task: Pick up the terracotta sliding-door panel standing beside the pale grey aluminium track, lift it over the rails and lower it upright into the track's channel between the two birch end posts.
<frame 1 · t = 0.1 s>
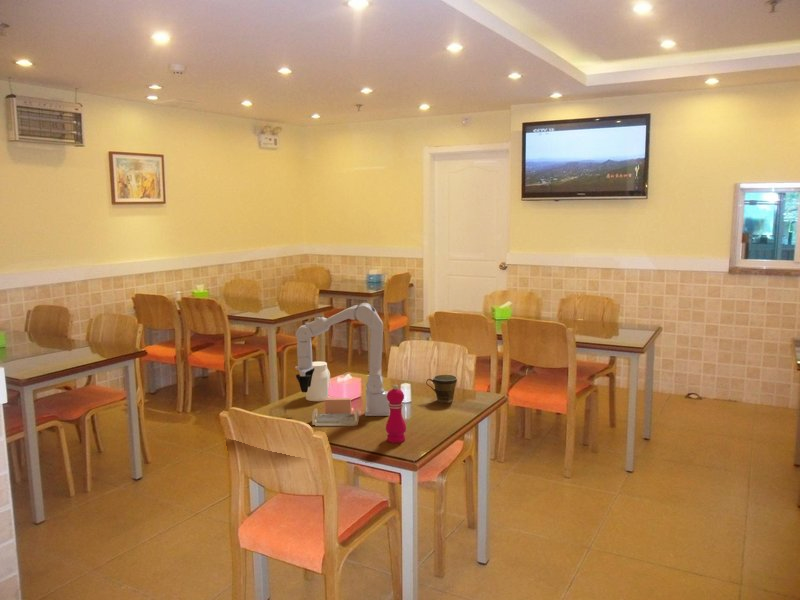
hand: (306, 389, 258), 10 cm above the table, tool pointing down, fingers open, 7 cm apart
ceramic cup: (441, 401, 275), on the table
door panel: (338, 416, 257), on the table
jar: (318, 397, 282), on the table
pepper mill: (396, 440, 230), on the table
door track: (336, 422, 249), on the table
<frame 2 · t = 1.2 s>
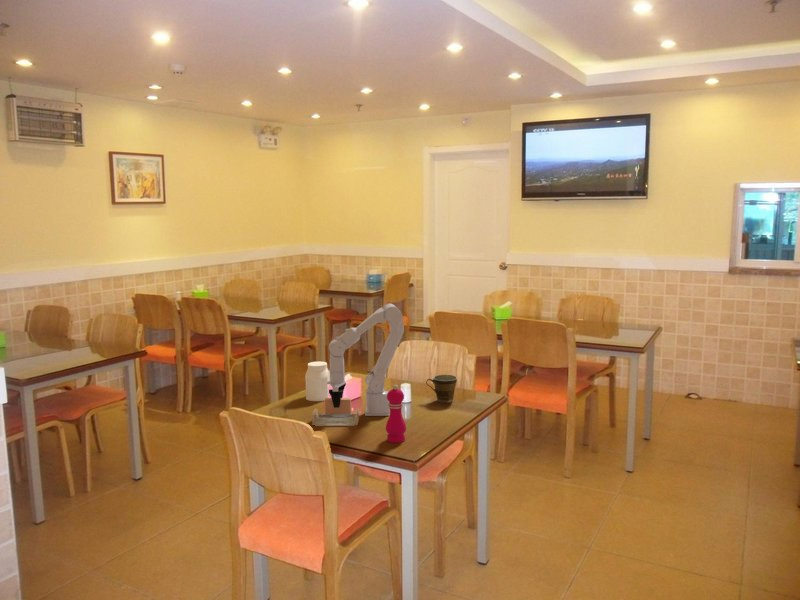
hand: (337, 404, 256), 5 cm above the table, tool pointing down, fingers open, 7 cm apart
nothing on the table moved.
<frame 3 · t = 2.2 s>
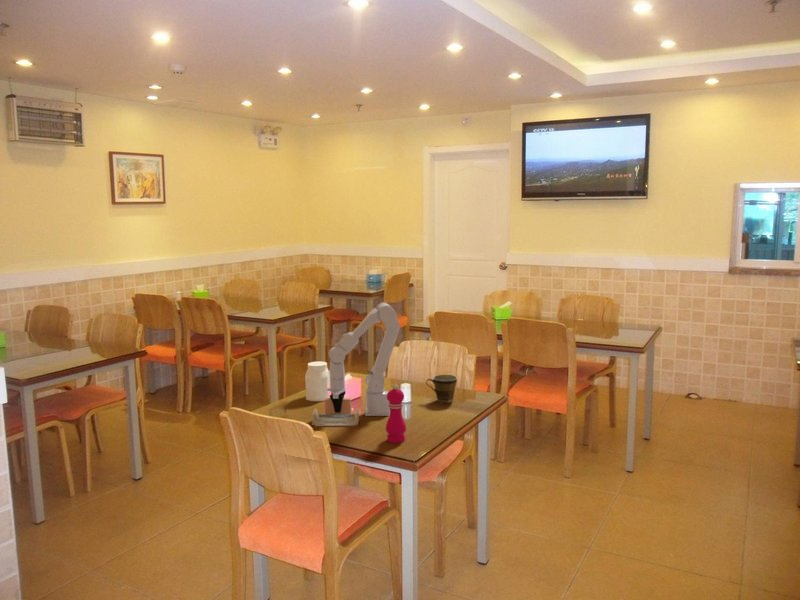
hand: (338, 411, 256), 2 cm above the table, tool pointing down, fingers closed on door panel, 2 cm apart
door panel: (338, 415, 257), on the table, touching gripper
everything else where it was.
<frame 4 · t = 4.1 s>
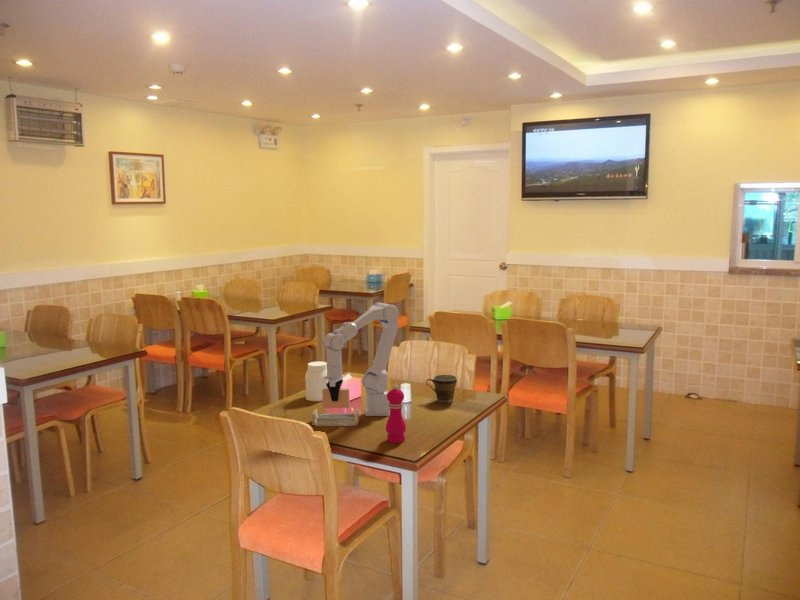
hand: (335, 400, 248), 9 cm above the table, tool pointing down, fingers closed on door panel, 2 cm apart
door panel: (336, 407, 248), point 6 cm above the table, touching gripper
everything else where it was.
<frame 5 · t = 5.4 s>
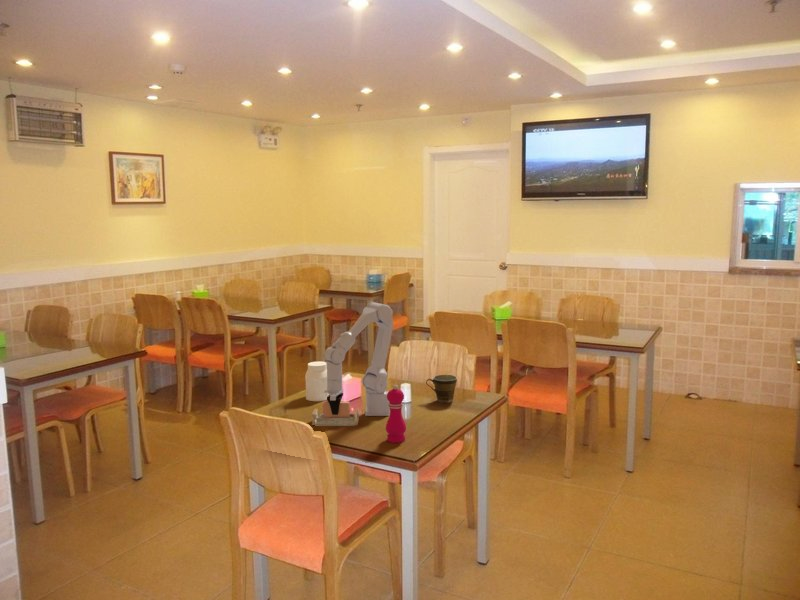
hand: (335, 413, 248), 4 cm above the table, tool pointing down, fingers closed on door panel, 2 cm apart
door panel: (336, 420, 249), point 1 cm above the table, touching door track, gripper
everything else where it was.
when the fingers open (4 cm above the table, at t = 5.9 s): door panel stays where it is, resting on door track.
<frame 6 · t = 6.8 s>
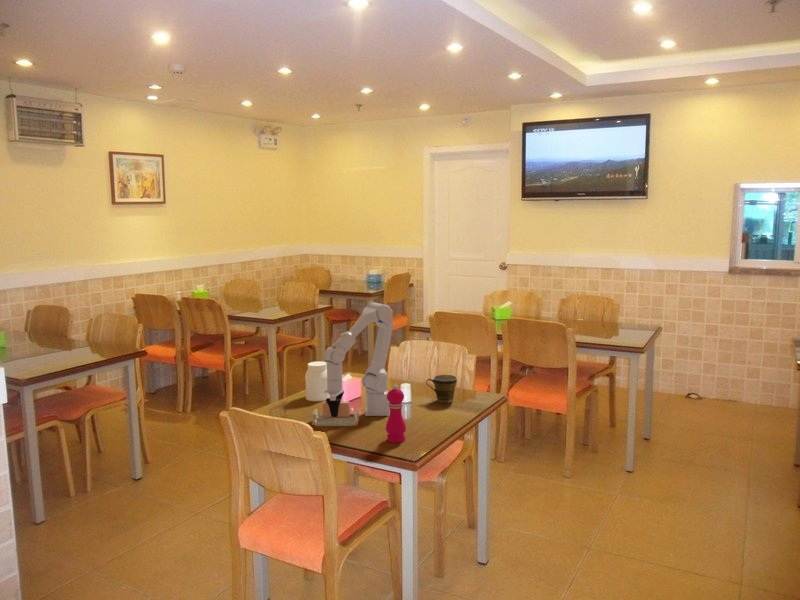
hand: (335, 413, 248), 4 cm above the table, tool pointing down, fingers open, 7 cm apart
door panel: (336, 420, 249), point 1 cm above the table, touching door track
everything else where it was.
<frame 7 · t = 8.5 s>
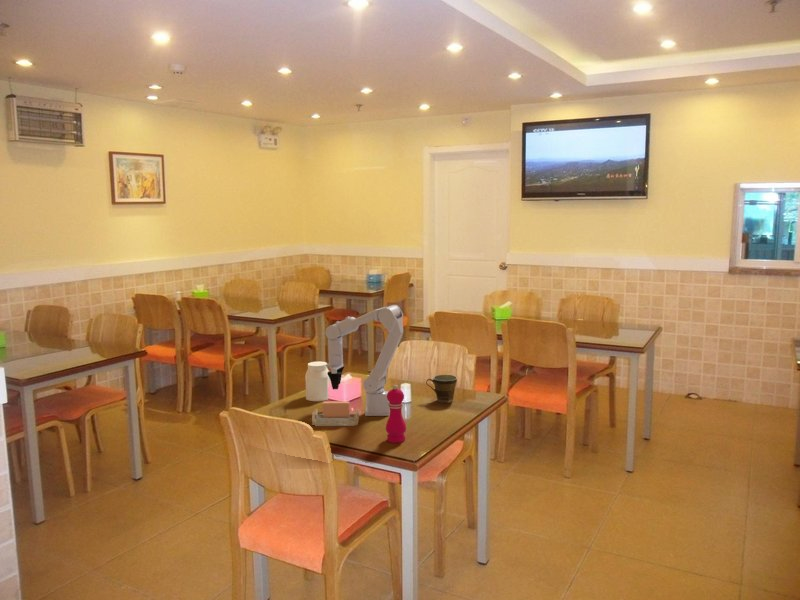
hand: (336, 386, 264), 9 cm above the table, tool pointing down, fingers open, 7 cm apart
nothing on the table moved.
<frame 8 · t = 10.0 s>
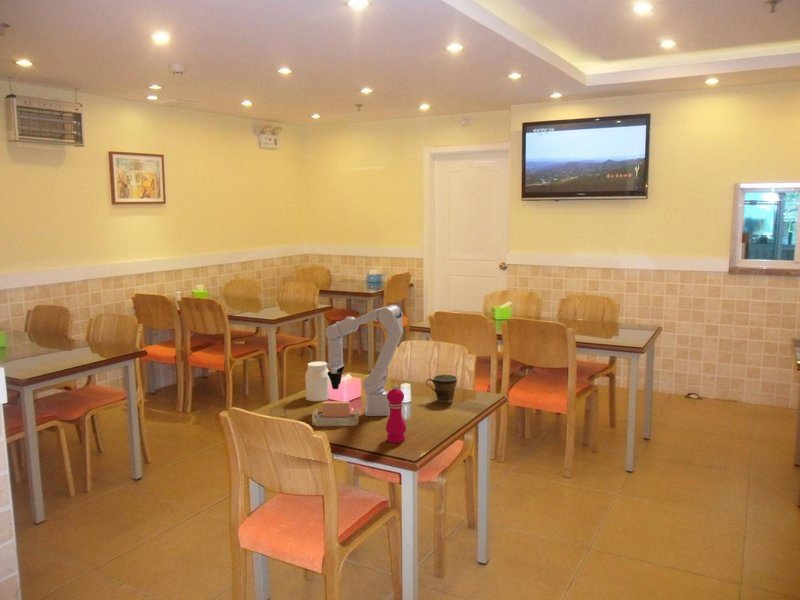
hand: (336, 386, 264), 9 cm above the table, tool pointing down, fingers open, 7 cm apart
nothing on the table moved.
at the end: door panel 0.3 cm off-centre on the door track, point 1.0 cm above the door track's base; door panel tilted 0°; the gripper is holding nothing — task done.
